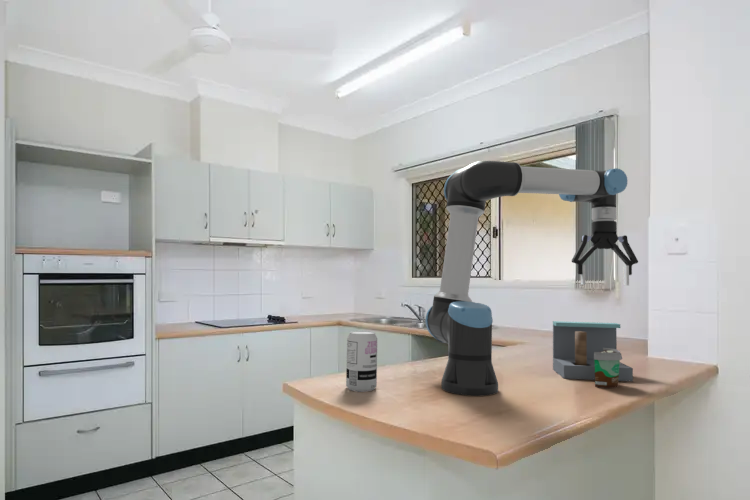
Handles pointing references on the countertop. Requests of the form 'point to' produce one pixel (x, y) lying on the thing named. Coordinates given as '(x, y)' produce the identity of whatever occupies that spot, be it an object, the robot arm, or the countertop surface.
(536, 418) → the countertop surface
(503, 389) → the countertop surface
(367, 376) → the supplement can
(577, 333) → the peg
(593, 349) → the socket
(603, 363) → the food container
